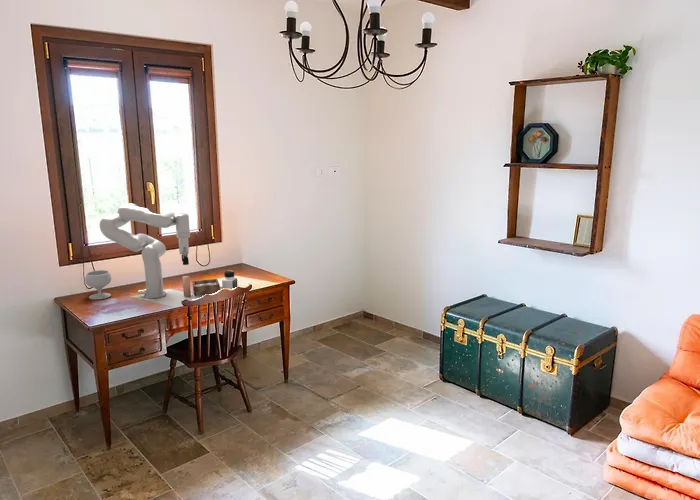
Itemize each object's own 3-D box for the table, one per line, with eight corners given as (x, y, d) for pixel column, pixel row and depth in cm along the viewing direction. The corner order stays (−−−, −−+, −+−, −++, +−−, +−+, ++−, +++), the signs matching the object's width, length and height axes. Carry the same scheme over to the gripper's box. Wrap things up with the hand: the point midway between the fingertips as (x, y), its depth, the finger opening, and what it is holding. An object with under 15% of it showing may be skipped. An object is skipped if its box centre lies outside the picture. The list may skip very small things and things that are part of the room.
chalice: (93, 302, 293) (90, 277, 290) (83, 297, 302) (80, 273, 299) (117, 296, 304) (114, 272, 300) (106, 292, 313) (104, 268, 309)
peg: (184, 297, 302) (182, 277, 299) (183, 295, 306) (182, 276, 303) (191, 296, 303) (189, 277, 301) (190, 294, 307) (189, 275, 304)
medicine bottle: (233, 291, 313) (232, 272, 310) (222, 291, 314) (221, 272, 312) (237, 288, 320) (236, 270, 317) (227, 287, 321) (226, 269, 319)
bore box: (194, 296, 303) (193, 287, 302) (192, 290, 316) (192, 281, 315) (220, 293, 308) (219, 284, 307) (217, 287, 321) (216, 278, 320)
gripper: (175, 232, 303) (177, 260, 307) (177, 237, 287) (179, 266, 291) (188, 231, 306) (190, 259, 310) (191, 236, 290) (193, 265, 294)
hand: (185, 262), depth 300 cm, fingers open, 9 cm apart
